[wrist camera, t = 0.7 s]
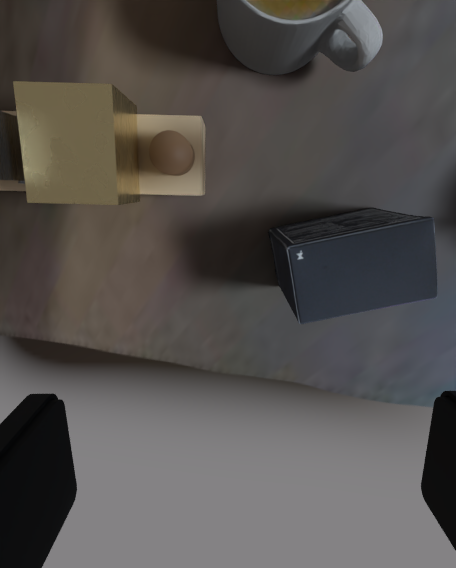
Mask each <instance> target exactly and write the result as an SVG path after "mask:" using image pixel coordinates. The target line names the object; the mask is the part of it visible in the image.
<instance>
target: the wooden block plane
mask: <svg viewBox="0 0 456 568" xmlns="http://www.w3.org/2000/svg"><path fill="white" fill-rule="evenodd" d="M2 112H5V113H8V114H11V115H14V116H17V111H2ZM137 132H138V158H139V185H140V194H156V195H195V196H202V195H205V124H204V122H203V119H202V117H201V116H180V115H142V114H137ZM0 190H1V191H26V186H25V184H22V183H18V181H12V180H0Z"/></svg>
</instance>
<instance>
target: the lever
mask: <svg viewBox="0 0 456 568" xmlns="http://www.w3.org/2000/svg"><path fill="white" fill-rule="evenodd" d="M0 180H12V181H18V183H22V184H25V178H24V169H23V161H22V152H21V144H20V135H19V127H18V118H17V116H14V115H11V114H8V113H5V112H2V111H0Z"/></svg>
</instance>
